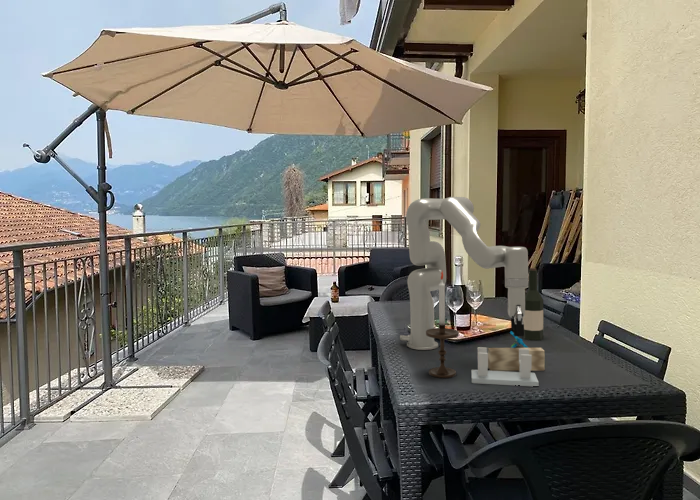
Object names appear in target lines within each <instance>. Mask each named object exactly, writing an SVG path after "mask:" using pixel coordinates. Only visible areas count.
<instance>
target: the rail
mask: <svg viewBox="0 0 700 500" xmlns="http://www.w3.org/2000/svg"><path fill="white" fill-rule="evenodd" d="M519 349H529V355H532V363H531V371H536V372H537V371H545V370H546V369H545V366H546V365H545V361H546V360H545V358H546V356H545V354H546V353H545V350H544V349H543V347H528V348H525V347H515V348H511V347H487V353H488V369H489V371H507V372H520V364H519Z"/></svg>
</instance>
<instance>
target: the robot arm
mask: <svg viewBox="0 0 700 500" xmlns="http://www.w3.org/2000/svg"><path fill="white" fill-rule="evenodd" d="M474 210H475V207H474V204H473V202H472V201H471V199H469V198H468V197H465V196H449V197H446V198H424V197H423V198H419V199H415V200H413V202H411V203H410V204H409V206H408V208H407V210H406V214H405V219H406V226H407V232H408V235H407V236H408V250H409V260H410V263H412V264H413V265H414V266H418V267H419V266H426V267H424V268H418V269H415V270H413V271H411V272H410V273H409V275H408V276H407V283H406V284H407V288H408V294H409V304H410V305H409V306H410V307H409V309H410V312H409V313H410V318H409V319H410V334H407V335H403V334H400V335H399V340H400V341H402V342H406V347H408V348H409V349H413V350H417V351H418V350H419V351H429V350H435V349H437V348H438V347H439V343H438V342H437V341H435V338H431V337H428V336H426V330H428V329H433V328H435V303H434V298H433V296H432V294H431V292H434V291H439V284H440V283H441V280H443V284H445V285H446V283H447V265H446V264H447V263H446V262H447V261H446V252H445V249H444V247H443V245H442V244H441V243H440V242H438V241H435V240H432V241H431V238H430V236H431V235H430V228H429V226H428V224H427V222H426V221H428V220H429V221H434V220H435V221H436V220H437V221H438V220H442V221H443V220H446V221H447V222H448V223H449V225H450V226H452V228H454V230H455V231H456V232H457V233H458V235H460V236H461V242H462V245H463V248H464V250H465V252H466V253H467V255H468V256H469V258H471V259H472V260H473V261H474V262H475V264H476V265H478V266H479V267H480V268H482V269H494V268H501V267H504V287H505V288H506V289H507V314H508V317H509V318H510V330H511V331H513V333H514V336H517V337H522V336H524V324H523V317H524V316H525V294H526V291H525V289H527V288H528V289H529V256H528V255H529V251H528V249H527V247H525V246H506V245H491V246H490V245H489V246H488V245H487V244H486V243H485V242H484V241H483V240H482V239H481V238H480V236H479V235H478V231H479V229H480V227H481V221H480V220H479V219H478V218H477V217H476V215H475V214H474V212H475V211H474ZM442 270H443V279H441V272H442ZM514 336H513V337H514Z"/></svg>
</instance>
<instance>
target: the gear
mask: <svg viewBox="0 0 700 500" xmlns="http://www.w3.org/2000/svg"><path fill="white" fill-rule="evenodd" d="M509 333H510V335H512V337H514V339H515V340H514V343H513V344H511V346H510V348H517V347H518V346H520V345H522V346H523V348H529V347H528V345H527V344H525V342H524V341H523V340H524V339H523V338H520V337H519V336H514V331H513V330H510V332H509Z"/></svg>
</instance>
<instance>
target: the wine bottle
mask: <svg viewBox="0 0 700 500" xmlns="http://www.w3.org/2000/svg"><path fill="white" fill-rule="evenodd" d="M523 324H524V336H521V337H522V338H521V339H523V340H528V341H542V340H543V339H544V299H543V297H542V295H541V293H540V292H539V290H538V270H537V268H535V267H530V268H529V269H528V289H527V292H525V316H524V317H523Z"/></svg>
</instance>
